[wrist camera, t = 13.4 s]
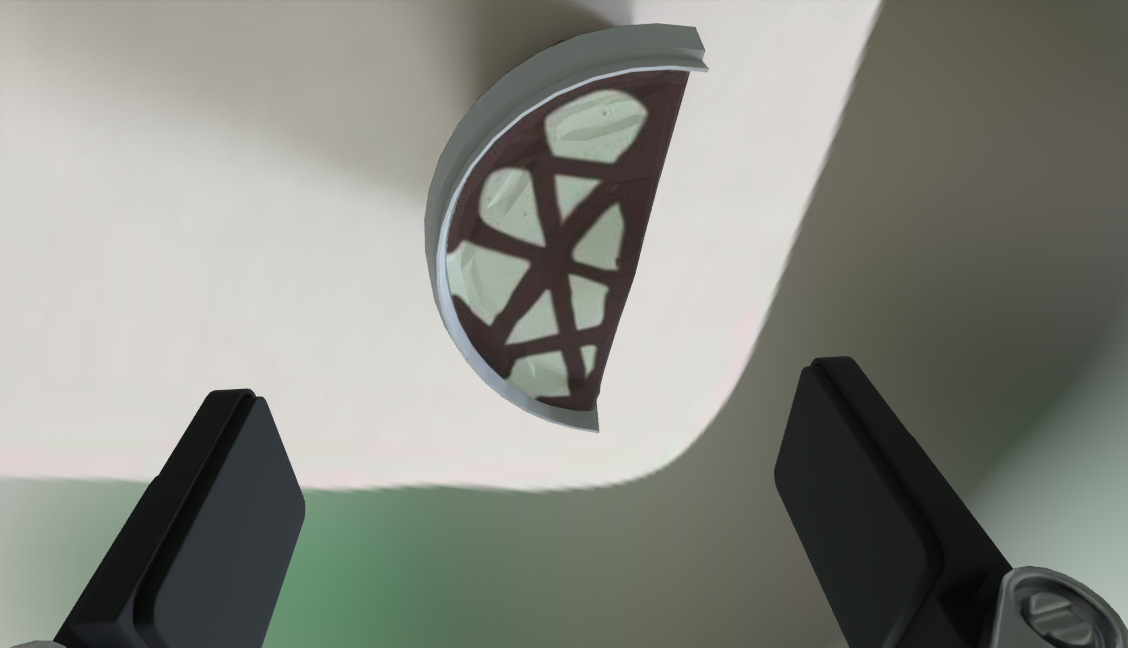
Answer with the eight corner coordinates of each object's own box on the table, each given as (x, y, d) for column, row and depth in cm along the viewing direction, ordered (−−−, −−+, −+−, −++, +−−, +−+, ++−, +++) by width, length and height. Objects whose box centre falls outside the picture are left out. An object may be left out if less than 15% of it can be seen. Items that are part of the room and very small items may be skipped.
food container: (467, -48, 20) (427, -16, 12) (643, -11, 21) (716, 42, 13) (441, 268, 27) (404, 426, 19) (575, 287, 28) (595, 445, 20)
